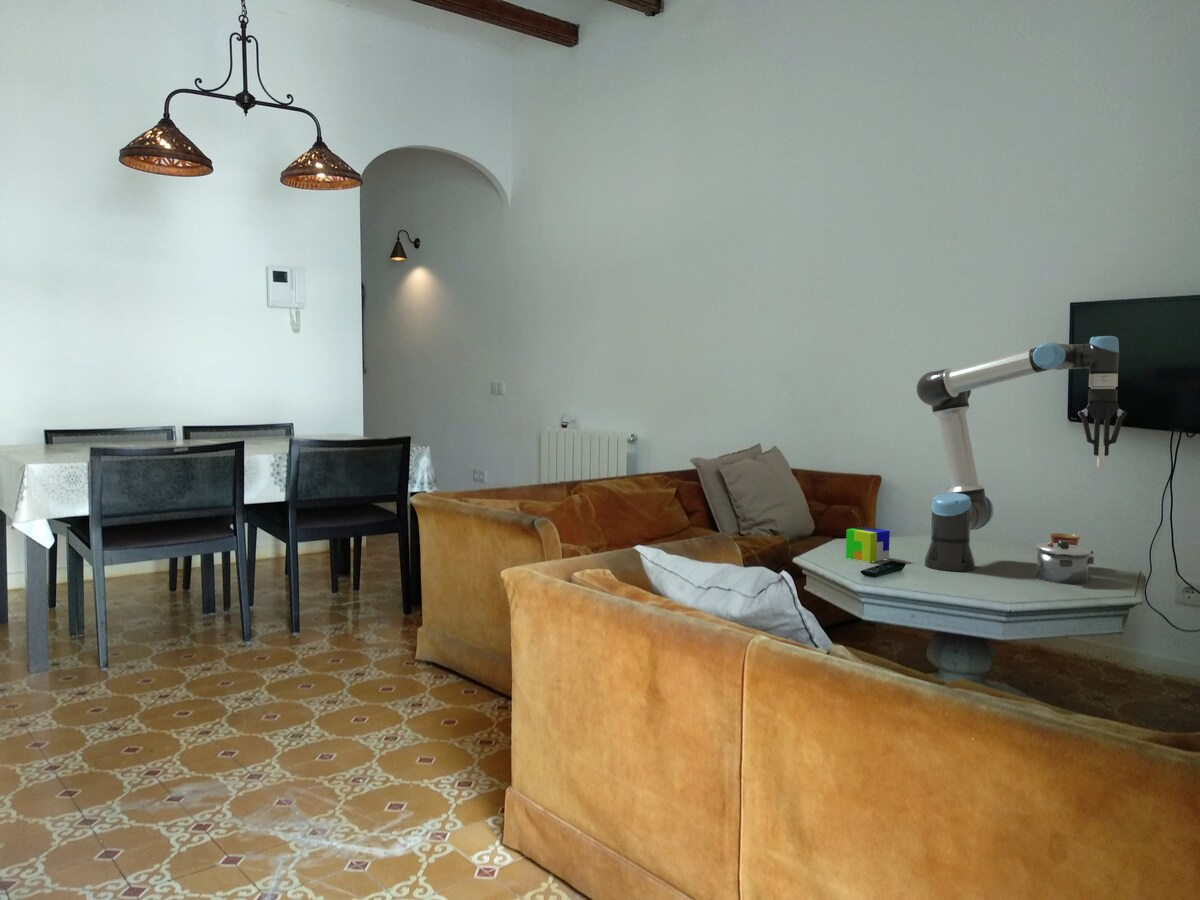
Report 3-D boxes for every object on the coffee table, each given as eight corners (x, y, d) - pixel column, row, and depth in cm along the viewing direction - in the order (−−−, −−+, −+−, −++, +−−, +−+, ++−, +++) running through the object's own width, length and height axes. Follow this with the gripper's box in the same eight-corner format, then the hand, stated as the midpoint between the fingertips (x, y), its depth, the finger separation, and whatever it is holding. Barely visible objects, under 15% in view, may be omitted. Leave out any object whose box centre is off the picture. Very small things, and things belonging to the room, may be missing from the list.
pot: (1039, 583, 259) (1040, 557, 259) (1033, 570, 277) (1034, 545, 276) (1096, 587, 254) (1097, 560, 253) (1087, 574, 271) (1088, 549, 270)
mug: (1045, 563, 289) (1046, 532, 288) (1073, 564, 287) (1075, 533, 286) (1056, 570, 277) (1057, 539, 276) (1086, 571, 275) (1087, 539, 274)
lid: (1037, 552, 261) (1038, 543, 260) (1033, 544, 274) (1034, 534, 274) (1096, 557, 255) (1096, 547, 255) (1088, 548, 269) (1089, 539, 268)
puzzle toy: (888, 559, 294) (889, 530, 293) (869, 563, 289) (870, 533, 288) (864, 555, 302) (865, 526, 302) (845, 558, 297) (846, 529, 296)
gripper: (1079, 388, 258) (1077, 467, 260) (1130, 388, 253) (1127, 468, 255) (1076, 388, 265) (1074, 465, 267) (1126, 388, 260) (1123, 466, 262)
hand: (1100, 466), depth 261 cm, fingers closed
